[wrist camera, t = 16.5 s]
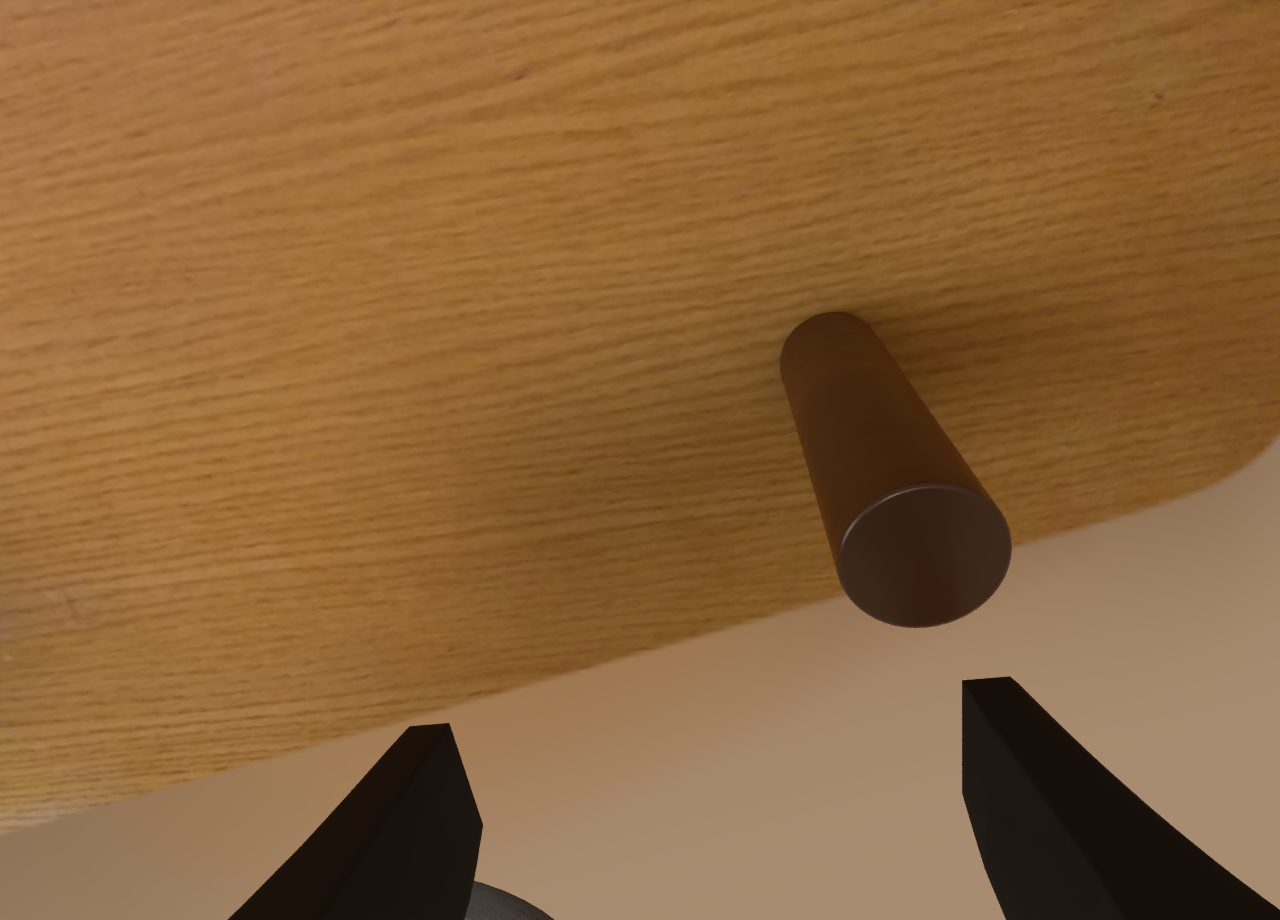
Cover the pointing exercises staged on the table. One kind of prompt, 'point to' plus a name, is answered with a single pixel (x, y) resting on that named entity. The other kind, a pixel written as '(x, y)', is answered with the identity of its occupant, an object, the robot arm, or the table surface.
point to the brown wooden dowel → (889, 481)
